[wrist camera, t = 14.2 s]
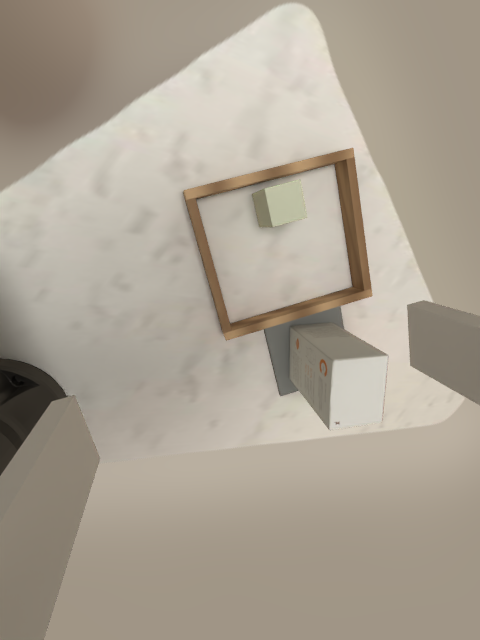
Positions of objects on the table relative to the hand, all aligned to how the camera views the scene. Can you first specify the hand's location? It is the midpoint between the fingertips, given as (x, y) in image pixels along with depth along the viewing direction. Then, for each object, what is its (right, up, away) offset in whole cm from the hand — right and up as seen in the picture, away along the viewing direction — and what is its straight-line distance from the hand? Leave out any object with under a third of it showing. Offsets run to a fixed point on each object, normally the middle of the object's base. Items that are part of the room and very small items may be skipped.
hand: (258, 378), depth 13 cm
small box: (+9, -2, +34) cm, 35 cm away
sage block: (+3, +16, +28) cm, 33 cm away
